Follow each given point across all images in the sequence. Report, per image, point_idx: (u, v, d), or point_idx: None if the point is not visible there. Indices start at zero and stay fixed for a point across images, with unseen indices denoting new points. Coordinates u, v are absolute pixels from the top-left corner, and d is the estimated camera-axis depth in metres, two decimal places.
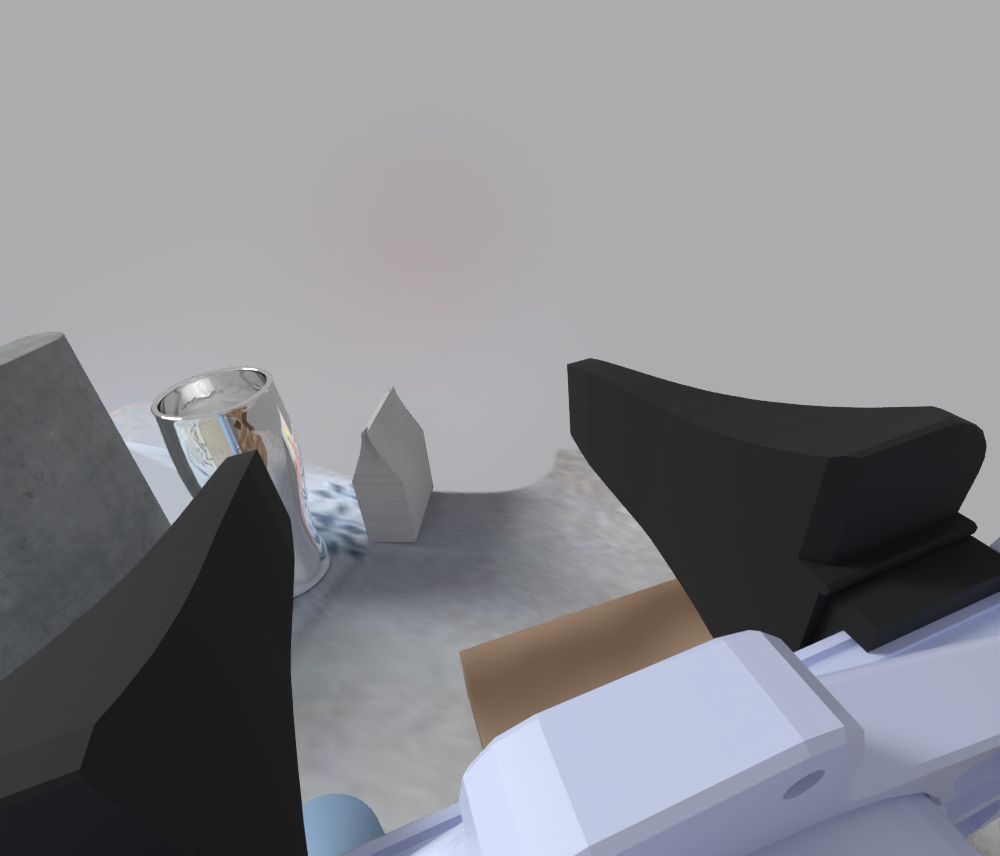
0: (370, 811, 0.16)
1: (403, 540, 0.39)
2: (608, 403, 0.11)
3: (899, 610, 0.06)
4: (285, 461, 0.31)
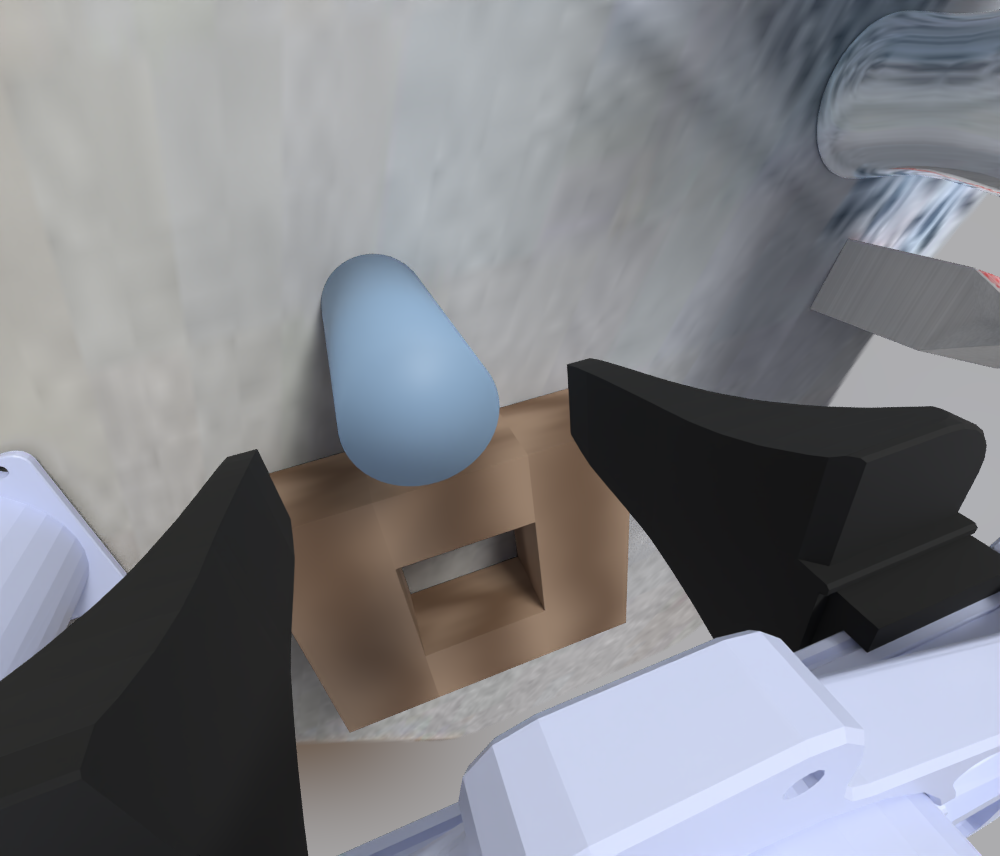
0: (471, 461, 0.14)
1: (821, 292, 0.27)
2: (608, 403, 0.11)
3: (899, 610, 0.06)
4: None
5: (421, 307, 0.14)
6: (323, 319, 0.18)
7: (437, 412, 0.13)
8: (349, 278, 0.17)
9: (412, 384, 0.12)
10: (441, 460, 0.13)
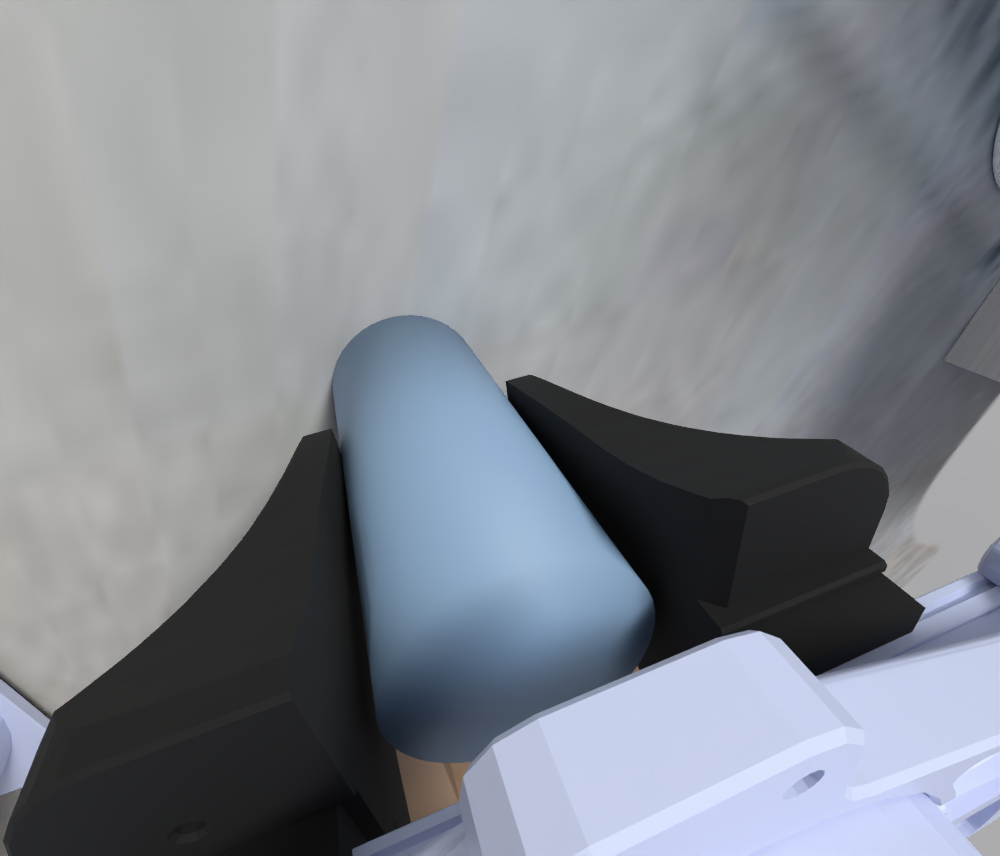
0: None
1: (962, 341, 0.21)
2: (540, 423, 0.10)
3: None
4: None
5: (506, 440, 0.08)
6: (337, 417, 0.12)
7: (552, 658, 0.07)
8: (377, 363, 0.11)
9: (516, 629, 0.06)
10: None
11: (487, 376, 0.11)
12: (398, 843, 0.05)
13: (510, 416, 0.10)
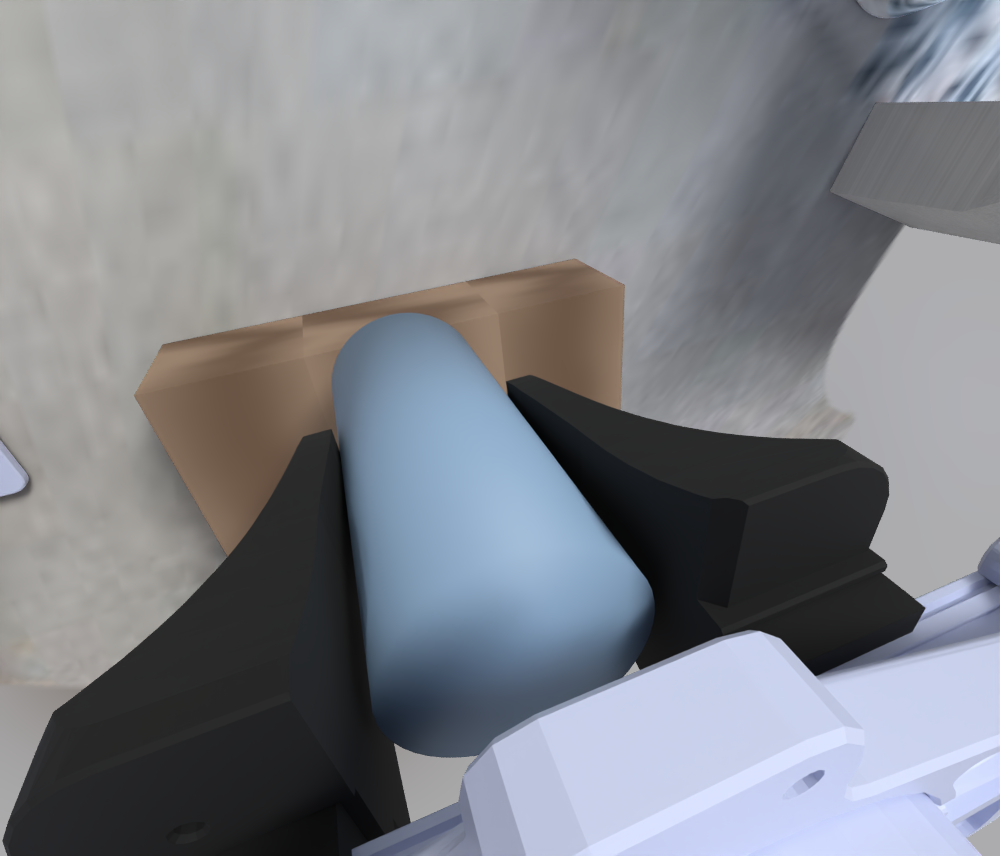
0: None
1: (844, 170, 0.23)
2: (540, 423, 0.10)
3: None
4: None
5: (503, 432, 0.08)
6: (335, 414, 0.12)
7: (550, 649, 0.07)
8: (375, 359, 0.11)
9: (512, 618, 0.06)
10: None
11: (485, 371, 0.11)
12: (397, 843, 0.05)
13: (508, 409, 0.10)
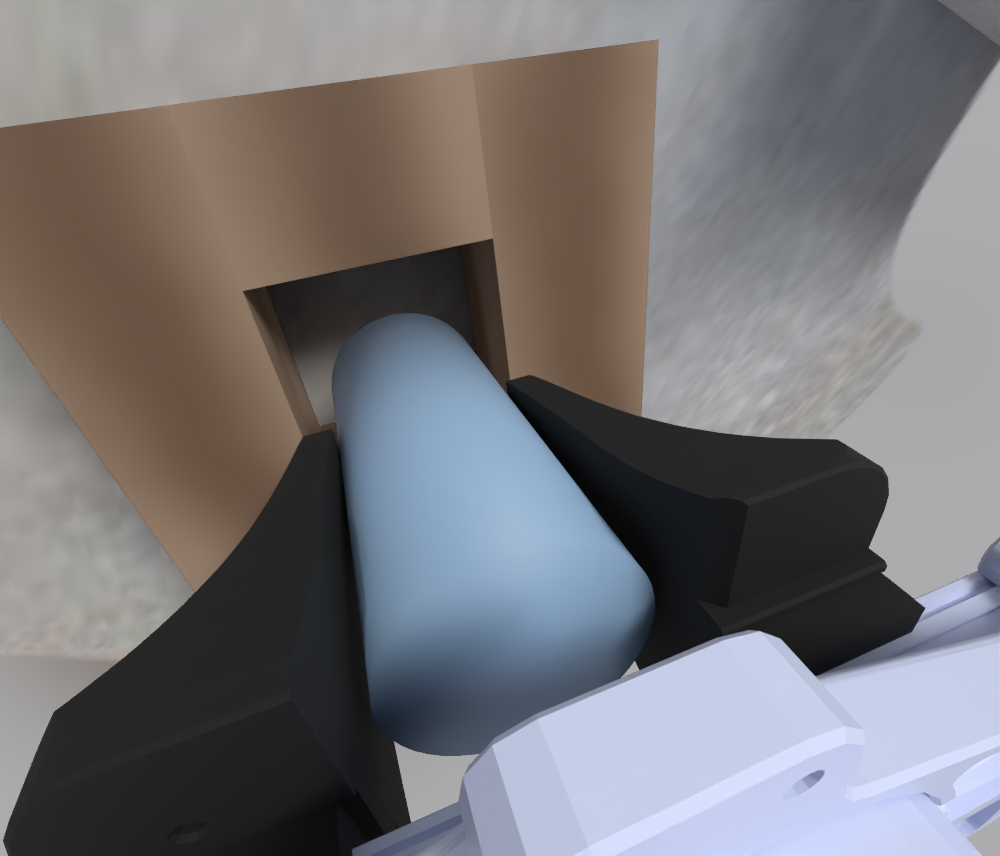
0: None
1: None
2: (540, 423, 0.10)
3: None
4: None
5: (502, 429, 0.08)
6: (335, 414, 0.12)
7: (550, 645, 0.07)
8: (374, 358, 0.11)
9: (511, 614, 0.06)
10: (548, 707, 0.08)
11: (485, 370, 0.11)
12: (398, 843, 0.05)
13: (507, 407, 0.09)
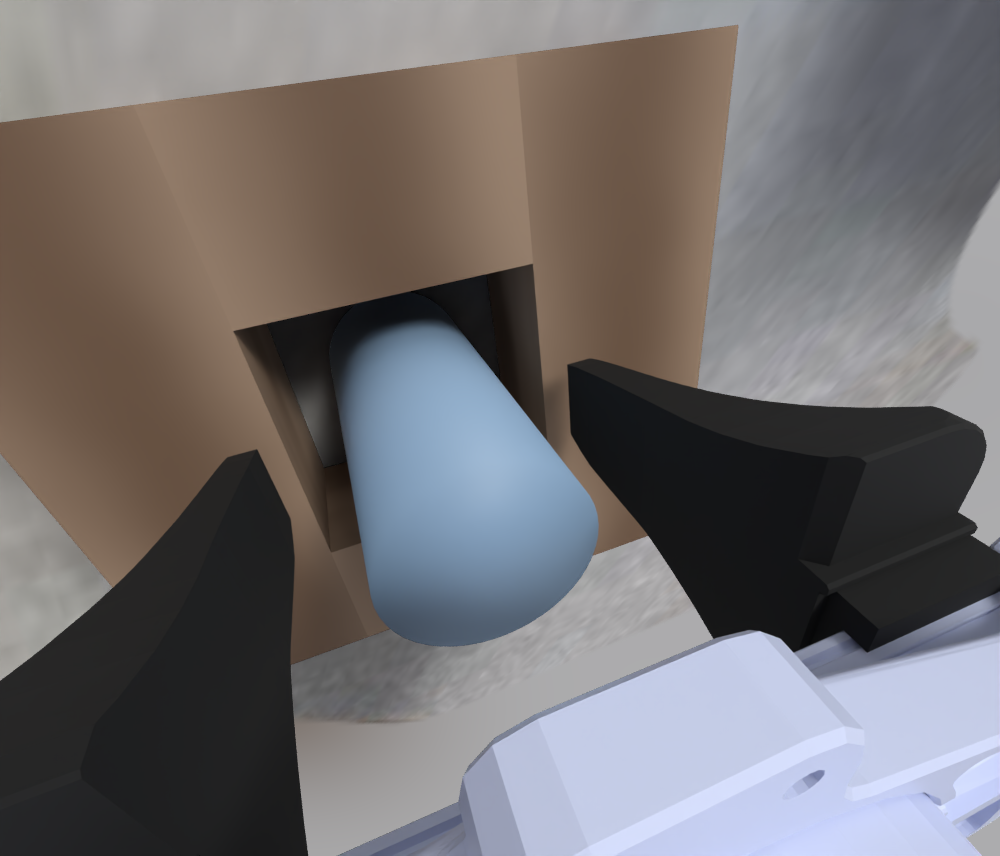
0: (553, 605, 0.10)
1: None
2: (608, 403, 0.11)
3: (899, 610, 0.06)
4: None
5: (477, 385, 0.10)
6: (334, 380, 0.14)
7: (513, 552, 0.09)
8: (368, 330, 0.13)
9: (480, 522, 0.08)
10: (513, 609, 0.09)
11: (466, 341, 0.13)
12: None
13: (483, 369, 0.11)
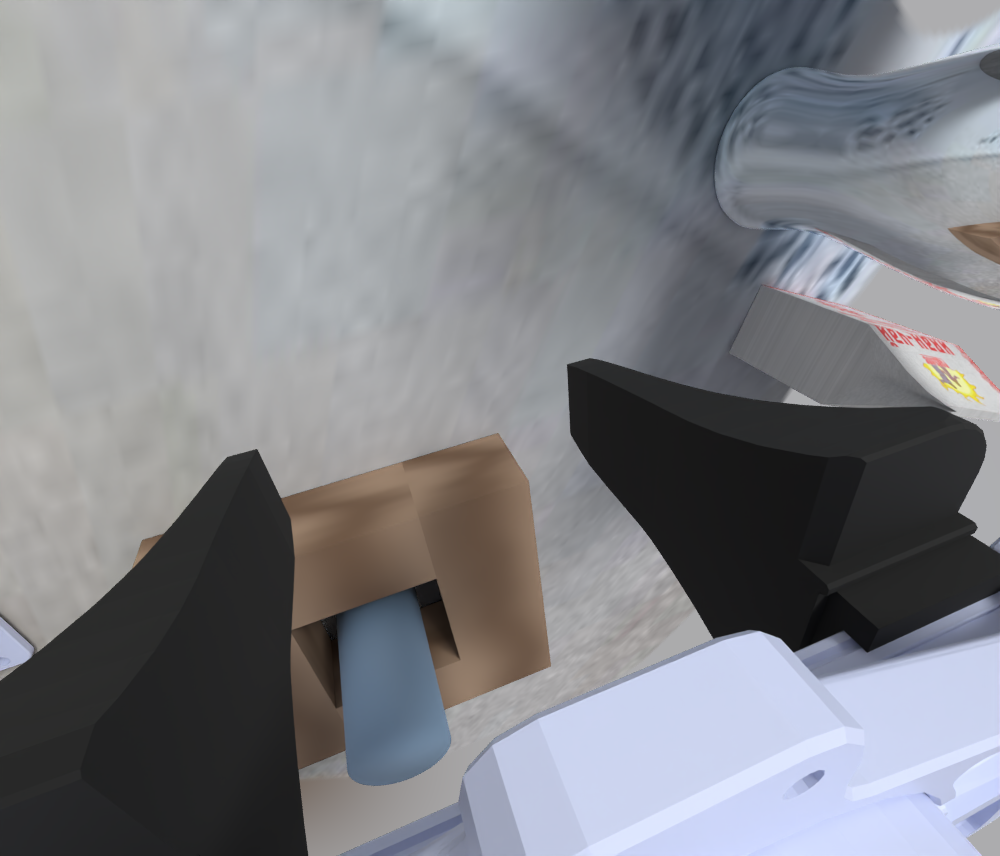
0: (434, 764, 0.21)
1: (739, 337, 0.27)
2: (608, 403, 0.11)
3: (899, 610, 0.06)
4: (966, 295, 0.15)
5: (401, 657, 0.21)
6: (336, 615, 0.25)
7: (410, 749, 0.20)
8: None
9: (393, 743, 0.19)
10: (414, 768, 0.21)
11: (406, 600, 0.24)
12: None
13: (409, 636, 0.22)
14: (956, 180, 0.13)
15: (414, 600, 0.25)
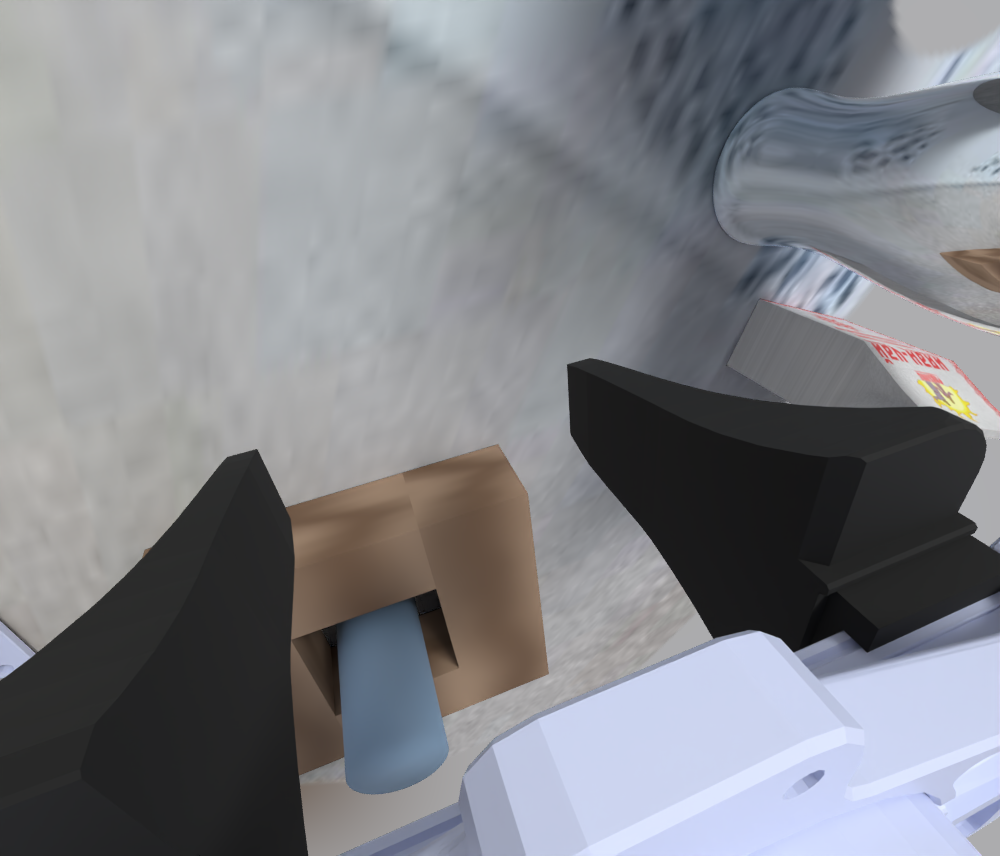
0: (431, 773, 0.21)
1: (736, 350, 0.27)
2: (608, 403, 0.11)
3: (899, 610, 0.06)
4: (958, 319, 0.15)
5: (400, 667, 0.21)
6: None
7: (408, 759, 0.20)
8: None
9: (391, 752, 0.19)
10: (411, 777, 0.21)
11: (405, 609, 0.25)
12: None
13: (408, 645, 0.23)
14: (948, 208, 0.13)
15: (413, 609, 0.25)
